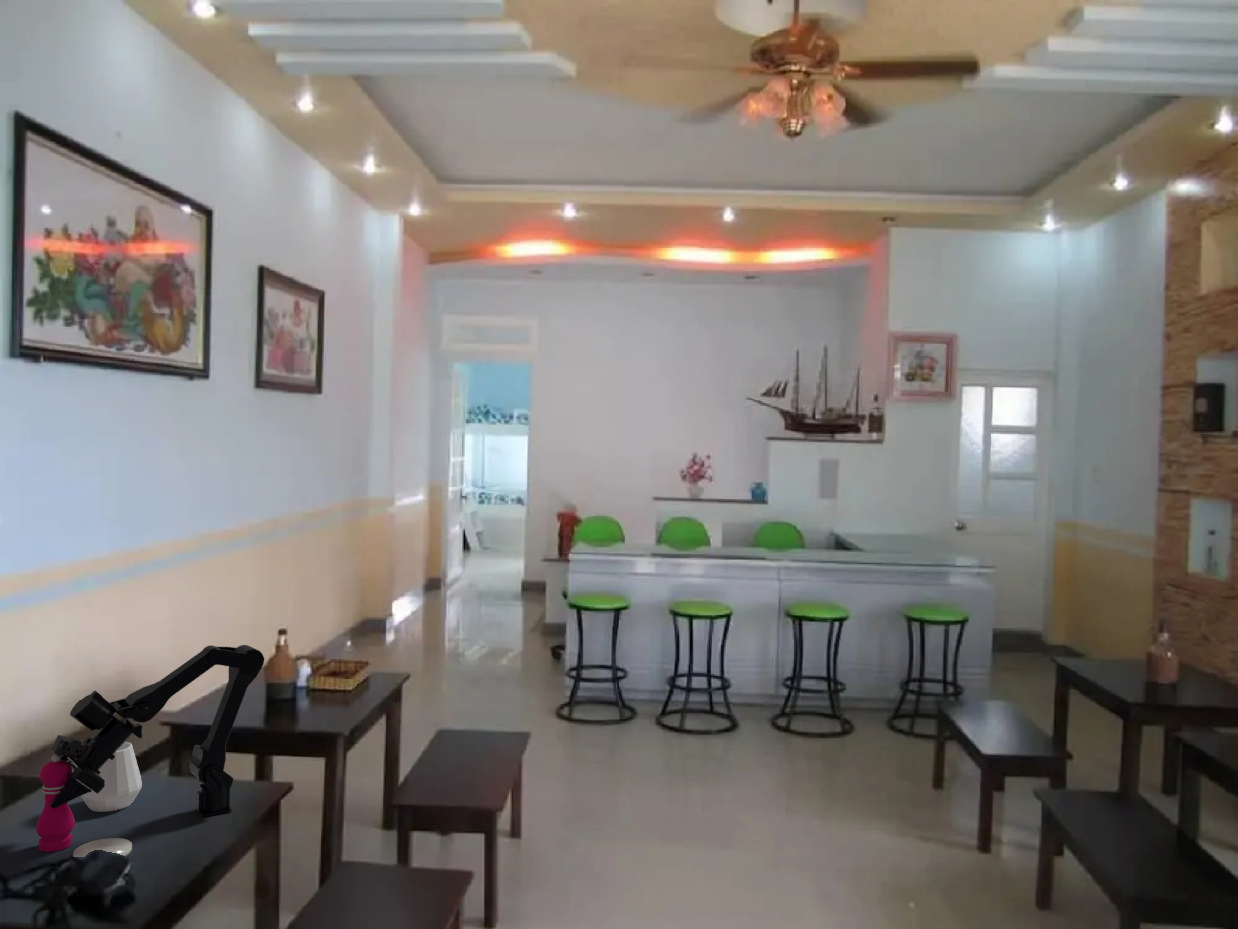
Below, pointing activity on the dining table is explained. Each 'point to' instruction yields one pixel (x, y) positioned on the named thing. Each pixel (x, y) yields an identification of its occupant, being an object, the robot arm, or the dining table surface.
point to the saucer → (105, 847)
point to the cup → (117, 782)
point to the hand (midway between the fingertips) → (48, 803)
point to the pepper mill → (57, 820)
